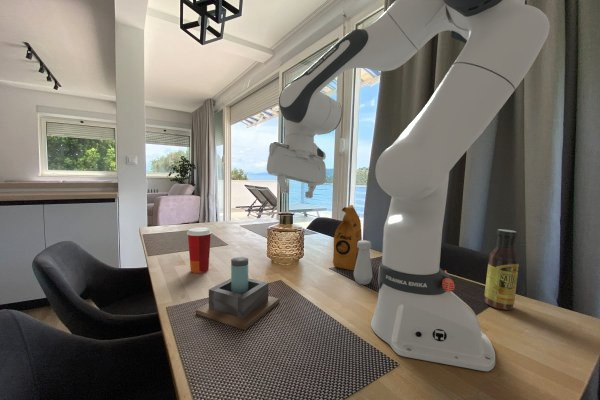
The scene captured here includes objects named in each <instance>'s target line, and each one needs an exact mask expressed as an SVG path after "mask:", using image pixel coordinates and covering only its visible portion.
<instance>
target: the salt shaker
mask: <svg viewBox="0 0 600 400" xmlns="http://www.w3.org/2000/svg"><path fill="white" fill-rule="evenodd" d="M357 248H359V252H358V256H357V261H356V265H355V269H354V270H353V278H354V281H355V282H356V284H359V285H363V286H364V285H365V286H366V285H369V284H370V283H371V281H372V279H373V269H372V268H373V267H372V261H371V260H372V259H371V253H370V250H371V249H372V242H371V241H370V240H365V239H362V240H361V241H358V243H357Z"/></svg>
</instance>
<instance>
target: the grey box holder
mask: <svg viewBox="0 0 600 400" xmlns="http://www.w3.org/2000/svg"><path fill="white" fill-rule="evenodd" d="M279 303H280V298H278V297H274V296H269V282H267V281H262V280H258V279H253V278H249V277H248V291H247V292H246V293H244V294H243V295H241V294H238V293H234V292H231V278H229V279H227V280H225V281H223V282H221V283H218V284H217V285H215V286H213V287H211V288H209V289H208V302H206V303H205V304H203V305H202V306H200V307H198V308H196V309H195V315H198V316H201V317H204V318H208V319H210V320H214V321H215V322H220V323H222V324H224V325H228V326H231V327H235V328H237V329H239V330H243V331H246V330H248V329H249V327H251V326H253V324H255V323H256V322H257V321H258V320H259V319H261V318H262V317H264V316H265V315H266V314H267V313H268V312H269V311H271V310H272V309H273V308H274V307H276V306H277V305H278V304H279Z"/></svg>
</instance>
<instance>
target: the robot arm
mask: <svg viewBox="0 0 600 400" xmlns="http://www.w3.org/2000/svg"><path fill="white" fill-rule="evenodd" d="M550 25H551V24H550V20H549V18H548V16H547V14H545V13H544V12H543V11H542V10H541V9H540V8H538V7H535V6H533V5H529V4H528V0H394V1H393V2H392V3H391V4H390V6H389V7H388V8H387V9H386V10H385V11H384V12H383V13H382V14H381V15H380V16H379V17H378V18H377V19H376V20H374V21H373V22H371V23H369V24H368V25H366V26H364V27H363V28H356V29H353V30H352V31H350V32H348V33H347V34H345V35H343V37H342V38H340V39H339V40H337V42H336V43H334V45H332V46H331V47H330V48H329V49H328V50H327V51H326V52H325V53H324V54H322V56H320V57H319V58H318V59H317V60H315V62H313V64H312V65H311V66H309V68H307V69H306V70H305V71H304V72H303V73H302V74H300V75H299V76H297V77H296V78H293V80H291V81H289V82H288V83H287V84H285V86H284V87H283V88H282V90H281V92H280V94H279V97H278V105H279V110H280V113H281V115H282V117H283V119H284V128H285V134H284V137H283V138H284V139H283V143H281V142H279V141H277V140H275V141H272V142H271V143H270V144H269V147H268V148H269V149H268V150H269V151H268V152H269V153H268V158H267V162H266V163H267V164H266V171H267V173H268V175H270V176H276V177H277V182H278V184H279V186H280V193H281V194H288V193H289V191H290V190H289V189H290V186H288V185H287V182H286V180H287V179H288V180H291V181H296V182H298V183H304V184H307V187H308V189H307V191H305V192H304V193H305V194H304V196H305V198H307V199H312V198H313V197H314V191H315V190H316V188H317V186H322V185H324V184H325V183H326V178H327V176H326V174H327V173H326V172H327V171H326V168H327V167H326V163H325V160H326V157H327V156H326V153H325V152H324V151H323V150H322V149H321V148H320V147H319V146H318V145H317V144H316V143H315V136H316V135H318V136H319V135H327V134H330V133H332V132H334V131H335V130H336V129H337V128H338V126H339V125H340V123H341V121H342V116H343V110H342V106H341V104H340V102H339V101H336V100H335V99H334V98H332V97H330V96H328V95H327V94H326V93H323V92H321V91H322V90H324V88H326V87H327V86H328V85H329V84H331V82H333V81H334V80H335V79H336V78H337V77H339V76H340V75H341V74H342V73H343V72H346V71H348V70H352V69H368V70H372V71H373V70H374V71H377V72H390V71H394V70H396V69H398V68H400V67H401V66H403V65H404V64H405V63H406V62H408V61H410V59H411V58H412V57H413V56H414V55H416V54H417V53H418V52H419V51H420V50H421V49H422V48H423V47H424V46H425V45H426V44H427V43H428V42H429V41H430V40H431V39H433V38H434V37H435V36H437V34H440V33H441V32H445V31H450V36H451V38H452V39H454V40H457V41H459V42H462V43H463V44H465V45H464V46H463V48H462V49H461V51H460V53H459V55H458V56H457V58H456V59H455V61H453V63H452V64H451V66H450V67H449V69H448V71H447V73H446V74H445V75H444V77H443V78H442V80H441V82H440V83H439V85H438V86H437V88H436V89H435V91H434V92H433V94H432V95H431V96H430V98H429V100H428V101H427V102H426V104H425V105H424V106H423V108H422V109H421V110H420V111H419V113H418V114H417V115H416V116H415V118H414V119H413V120H412V121H410V123H409V124H408V125H407V126H406V128H405V129H404V130H403V131H402V132H401V133H400V135H399V136H398V137H397V138H396V139H395V141H393V143H392V144H391V145H390V146H389V147H388V148H387V147H386V149H385V150H384V151H383V152H381V154H380V156H379V157H378V158H377V161H376V163H375V164H376V165H375V170H374V172H375V179H376V181H377V184H378V185H379V187H380V189H381V190H382V191H383V192H385V193H386V194H387V195H388V196H390V197H391V199H390V205H389V208H388V213H387V217H386V220H385V222H384V226H383V234H382V235H383V237H382V256H381V257H382V258H381V260H380V262H379V267H378V275H377V277H378V280H377V281H378V282H377V283H378V289H379V290H378V297H377V301H376V305H375V309H374V313H373V316H372V317H371V320H370V327H371V329H372V330H373V332H374V333H375V335H377V336H378V337H379V338H380V339H381V340H382V341H384V342H385V343H387V344H388V345H389V346H390V347H391V349H392V350H393V351H394V352H395V353H396V354H397V355H399V356H401V357H404V358H410V359H416V360H422V361H426V362H433V363H438V364H444V365H449V366H453V367H459V368H465V369H471V370H476V371H483V372H489V371H492V370H493V369H494V367H496V353H495V349H494V346H493V344H492V342H491V340H490V339H489V338H488V336H487V334H485V333H484V332H483V331H482V329H481V325H480V321H479V319H478V317H477V315H476V313H475V311H474V310H473V309H472V308H471V307H470V306H469V304H467V303H466V302H464V300H462V299H461V298H460V297H459V296H458V295H456V293H454V292H453V291H454V290H455V288H456V287H455V286H456V285H455V282H454V280H452V278H451V276H450V274H448V272H447V270H446V269H445V270H443V269H442V268H441V267H440V263H441V250H442V249H441V248H442V236H443V227H444V219H445V212H446V204H447V197H448V187H449V181H450V180H449V179H450V171H451V170H452V169H453V168H454V167H455V165H456V164H457V163H458V161H459V160H460V159H461V158H462V157H463V156H464V155H465V153H466V152H467V151H468V150H469V149H470V147H471V146H472V145H473V143H475V141H476V140H477V139H479V137H480V136H481V135H482V134H483V132H484V131H485V130H486V129H487V127H488V126H489V125H490V124H491V123H492V121H493V119H495V117H496V116H497V114H498V113H499V112H500V110H501V109H502V108H503V106H504V105H505V104H506V103H507V101H508V99H509V98H510V97H511V95H513V93H514V92H515V90H516V89H517V88H518V87H519V85H520V83H521V82H522V81H523V79H524V78H525V77H526V75H527V74H528V72H529V70H530V69H531V67H532V66H533V64H534V62H535V61H536V59H537V57H538V56H539V54H540V51H541V50H542V48H543V47H544V44H545V43H546V40H547V38H548V36H549V33H550Z"/></svg>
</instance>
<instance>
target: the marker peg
mask: <svg viewBox="0 0 600 400" xmlns="http://www.w3.org/2000/svg"><path fill="white" fill-rule="evenodd" d="M248 278H249V258H248V257H243V256H238V257H233V258H232V259H231V260H230V279H231V292H234V293H238V294H241V295H243V294H244V293H246V292H247V291H248Z"/></svg>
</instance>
